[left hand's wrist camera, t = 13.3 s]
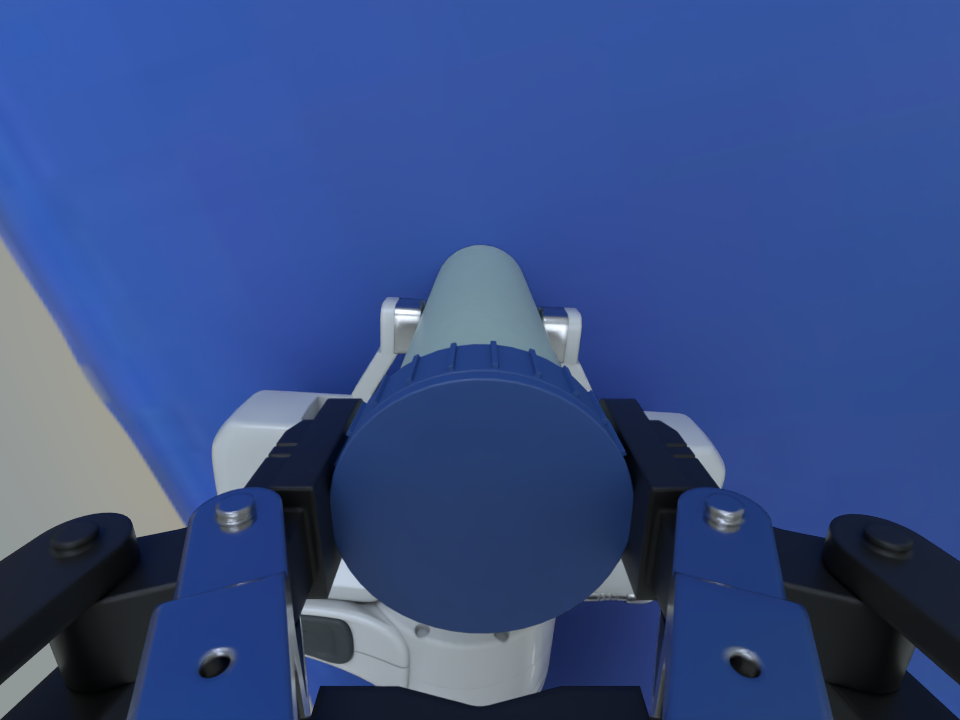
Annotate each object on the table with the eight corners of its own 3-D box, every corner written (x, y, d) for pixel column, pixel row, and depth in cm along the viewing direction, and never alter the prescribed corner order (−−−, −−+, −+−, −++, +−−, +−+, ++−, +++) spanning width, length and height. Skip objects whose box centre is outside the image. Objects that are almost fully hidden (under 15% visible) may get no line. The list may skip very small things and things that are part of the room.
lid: (346, 327, 10) (319, 360, 8) (637, 349, 10) (669, 387, 8) (348, 561, 12) (326, 628, 10) (592, 577, 12) (610, 645, 10)
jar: (447, 234, 25) (384, 360, 8) (536, 258, 26) (643, 424, 9) (426, 321, 27) (337, 573, 10) (510, 342, 27) (561, 620, 10)
